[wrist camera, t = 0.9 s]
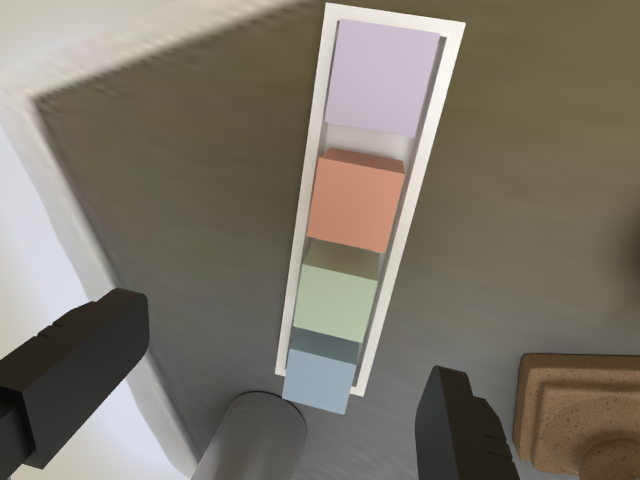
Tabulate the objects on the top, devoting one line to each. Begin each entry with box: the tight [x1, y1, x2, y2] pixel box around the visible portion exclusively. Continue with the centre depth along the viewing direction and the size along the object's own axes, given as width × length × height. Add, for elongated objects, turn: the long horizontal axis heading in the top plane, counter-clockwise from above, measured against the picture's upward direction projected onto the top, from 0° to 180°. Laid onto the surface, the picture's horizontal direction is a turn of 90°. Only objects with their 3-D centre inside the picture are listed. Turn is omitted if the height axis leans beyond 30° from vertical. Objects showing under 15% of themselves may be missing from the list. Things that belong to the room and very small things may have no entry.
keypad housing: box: [275, 3, 466, 397], centre depth 28 cm, size 28×8×4 cm, turn 171°
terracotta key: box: [307, 147, 405, 253], centre depth 24 cm, size 5×5×4 cm
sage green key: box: [293, 239, 380, 343], centre depth 26 cm, size 5×5×4 cm
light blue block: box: [282, 328, 360, 415], centre depth 29 cm, size 5×5×4 cm
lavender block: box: [324, 18, 441, 138], centre depth 21 cm, size 5×5×4 cm
